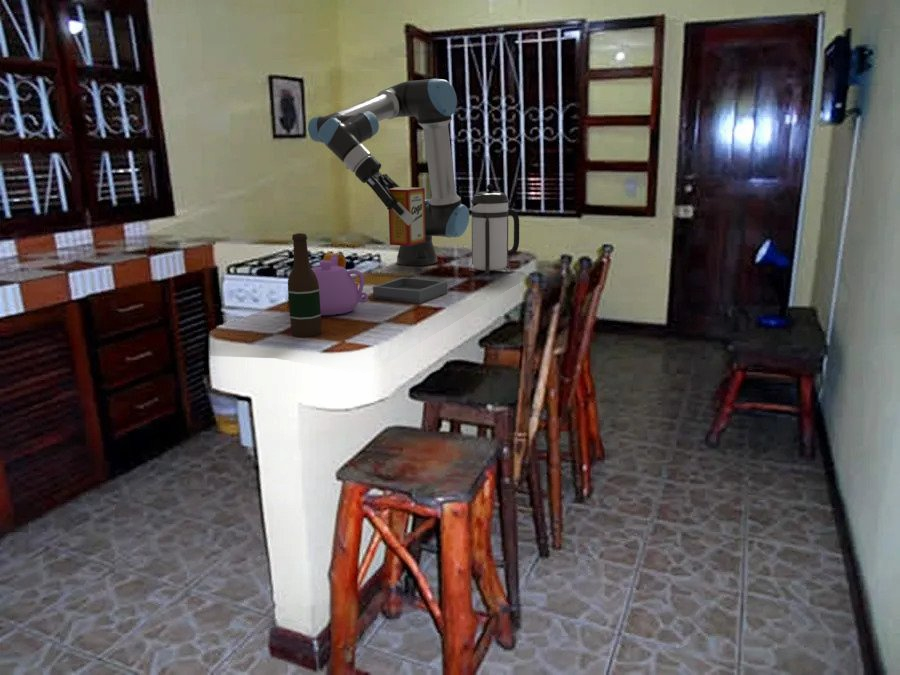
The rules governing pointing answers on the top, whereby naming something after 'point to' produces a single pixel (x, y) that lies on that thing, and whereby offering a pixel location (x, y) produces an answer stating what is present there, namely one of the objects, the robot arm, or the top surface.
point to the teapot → (338, 288)
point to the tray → (410, 290)
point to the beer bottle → (303, 292)
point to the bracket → (340, 261)
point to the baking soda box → (416, 207)
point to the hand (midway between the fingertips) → (417, 219)
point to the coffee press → (492, 231)
